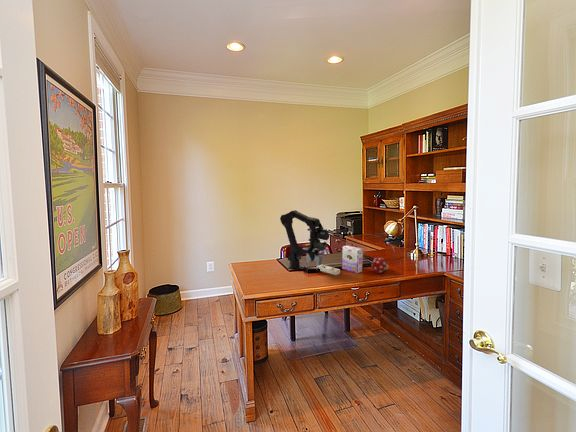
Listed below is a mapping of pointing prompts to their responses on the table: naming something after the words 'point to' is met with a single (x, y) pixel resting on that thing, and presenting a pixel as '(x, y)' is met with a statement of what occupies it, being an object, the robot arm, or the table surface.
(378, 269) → the decorative mushroom
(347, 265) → the candy box
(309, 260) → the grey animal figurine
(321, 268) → the rail
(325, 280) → the table surface
